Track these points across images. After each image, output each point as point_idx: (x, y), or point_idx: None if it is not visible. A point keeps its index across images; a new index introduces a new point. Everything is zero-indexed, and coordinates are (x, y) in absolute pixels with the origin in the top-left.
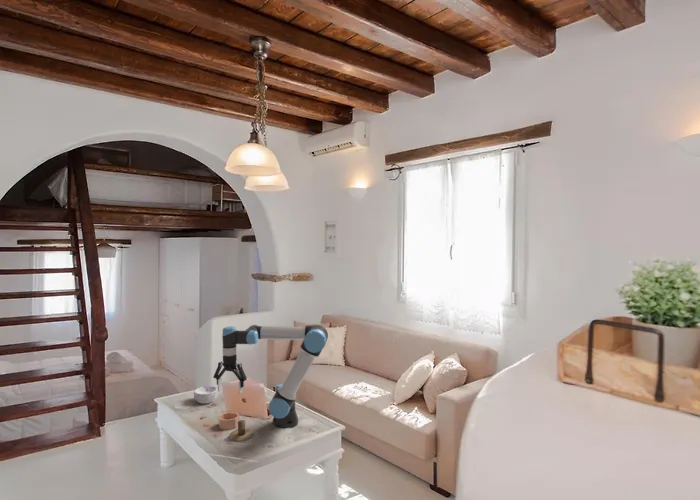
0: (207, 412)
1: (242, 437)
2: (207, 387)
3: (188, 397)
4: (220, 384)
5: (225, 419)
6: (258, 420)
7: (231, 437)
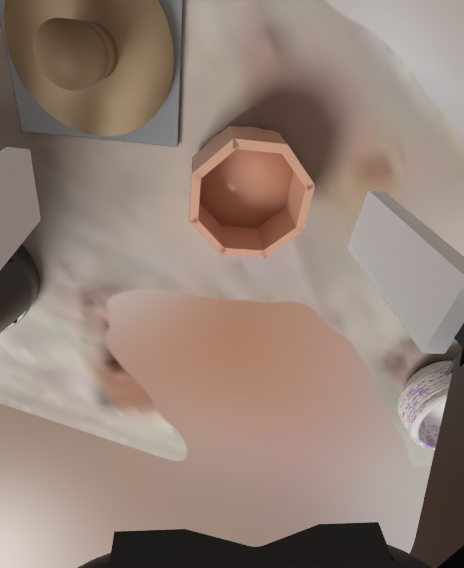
0: None
1: None
2: None
3: None
4: (391, 265)
5: (280, 217)
6: (125, 272)
7: None
